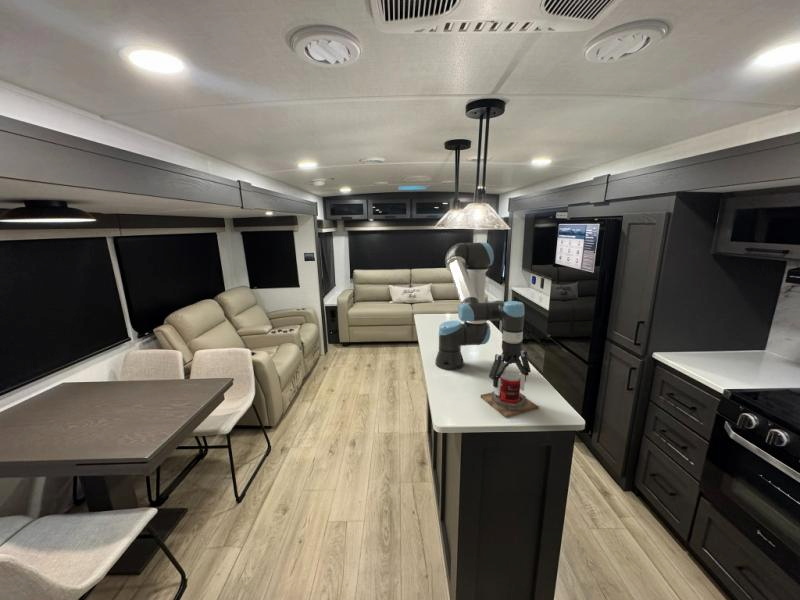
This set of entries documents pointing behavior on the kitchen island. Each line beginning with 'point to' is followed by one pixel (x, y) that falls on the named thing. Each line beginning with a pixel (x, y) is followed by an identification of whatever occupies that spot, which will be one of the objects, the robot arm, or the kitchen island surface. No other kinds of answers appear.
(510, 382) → the canned food
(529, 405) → the socket board
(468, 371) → the kitchen island surface
